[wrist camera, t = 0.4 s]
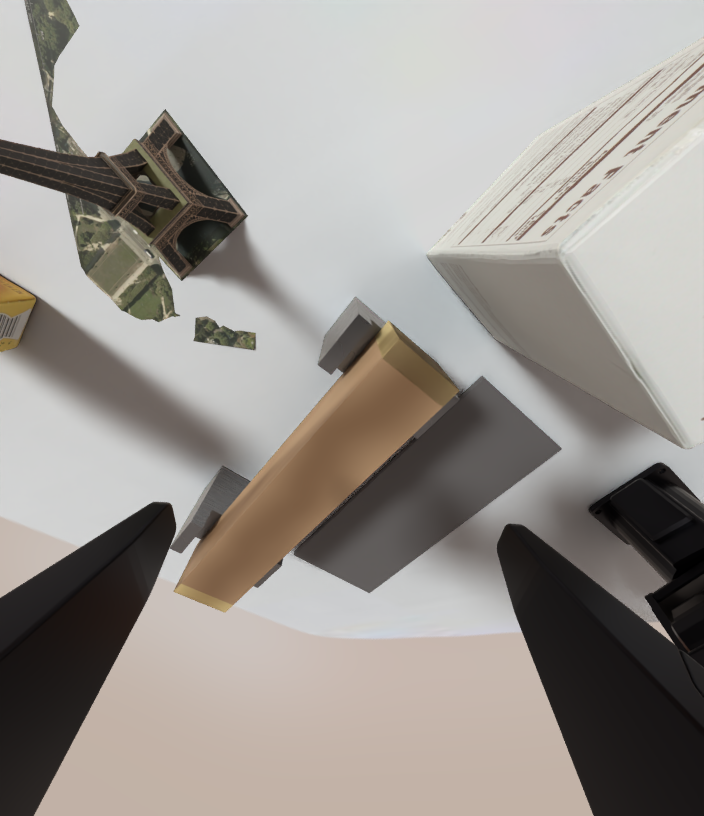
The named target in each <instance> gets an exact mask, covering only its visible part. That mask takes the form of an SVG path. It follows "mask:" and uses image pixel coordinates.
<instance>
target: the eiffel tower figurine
mask: <svg viewBox="0 0 704 816" xmlns="http://www.w3.org/2000/svg"><path fill="white" fill-rule="evenodd" d="M25 5H26V10H27V15H28V19H29V24H30V29H31V33H32V38H33V42H34V47H35V51H36V56H37V60H38V65H39V70H40V74H41V79H42V84H43V88H44V93H45V98H46V102H47V107H48V112H49V117H50V122H51V127H52V132H53V136H54V141H55V146H56V151H57V152H54V151H50V150H45V149H41V148H36V147H32V146H27V145H23V144H18V143H14V142H9V141H5V140H1V139H0V173H1V174H4V175H8V176H11V177H14V178H18V179H21V180H24V181H28V182H31V183H34V184H37V185H40V186H44V187H47V188H50V189H53V190H57V191H60V192H63V193H65V194H66V199H67V203H68V208H69V213H70V217H71V222H72V227H73V231H74V236H75V241H76V245H77V250H78V254H79V259H80V263H81V267H82V268H83V270H84V271H85V274H86V275H87V276H88V277H89V278H90V279H91V280H92V281H93V282H94V283H95V284H96V285H97V286H98V287H99V288H100V289H101V290H102V291H103V292H104V293H105V294H107V295H108V296H109V297H110V298H111V299H112V300H113V301H114V302H115V304H116V305H117V306H118V307H119V308H120V309H121V310H122V311H125V312H127V313H128V314H130V315H132V316H134V317H136V318H138V319H141V320H146V319H153V320H155V321H157V322H160V321H162V320H164V319H167V318H169V317H171V316H174V317H176V316H180V315H178V314H176V313H175V310H174V302H173V295H172V289H171V286H170V284H169V282H168V280H167V278H166V276H165V274H164V272H163V269H162V266H161V263H160V260H159V257H160V258H161V259H162V260H163V261H164V262H165V264H166V265H167V266H168V267H169V268H170V269H171V270H172V271H173V272H174V273H175V274H176V275H177V277H178V278H179V279H180V280H181V281H182V280H183V279H184V278H185V277H186V276H187V275H188V274H189V273H190V272H191V271H192V270H194V269H195V268H196V267H197V266H198V265H199V264H200V263H201V262H202V261H203V260H204V259H205V258H206V257H207V256H208V255H209V254H210V253H211V252H212V251H213V250H214V249H215V248H216V247H217V246H218V245H219V244H220V243H221V242H222V241H223V240H224V239H225V238H226V237H227V236H228V235H229V234H230V233H231V232H232V231H233V230H234V229H235V228H236V227H237V226H238V225H239V224H240V223H241V222H242V221H243V220H244V219H245V218H246V217H247V216H248V215H247V214H246V213H245V211H244V210H243V209H242V208H241V206H240V205H239V204H238V202H237V201H236V200H235V198H234V197H233V196H232V195H231V193H230V192H229V191H228V189H227V188H226V187H225V186H224V184H223V183H222V182H221V180H220V179H219V178H218V177H217V175H216V174H215V173H214V171H213V170H212V169H211V167H210V166H209V165H208V164H207V162H206V161H205V160H204V158H203V157H202V156H201V155H200V153H199V152H198V151H197V149H196V148H195V147H194V146H193V144H192V143H191V142H190V140H189V139H188V138H187V136H186V135H185V134H184V133H183V131H182V130H181V129H180V127H179V126H178V125H177V124H176V122H175V121H174V120H173V118H172V117H171V116H170V115H169V113H168V112H167V111H166V109H165V110H164V111H163V112H162V114H161V115H160V116H159V117H158V119H157V120H156V121H155V122H154V123H153V125H152V126H151V127H150V128H149V130H148V131H147V132H146V133H145V134H144V136H143V137H142V138H141V139H140V141H138V140H136V139H134V140H133V141H132V142H131V143H130V145H129V146H128V147H127V148H126V150H125V151H124V152H123V153H122V154H118V155H114V156H110V157H108V156H107V155H106V154H105V153H104V152H98V153H97V155H96V156H95V157H87V156H86V154H85V153H84V152H83V151H82V150H81V149H80V147H79V146H78V145H77V143H76V142H75V141H74V139H73V138H72V137H71V136H70V135H69V133H68V132H67V131H66V130H65V128H64V127H63V126H62V124H61V122H60V120H59V118H58V117H57V115H56V113H55V111H54V109H53V108H52V96H53V81H54V65H55V63H56V61H57V59H58V57H59V55H60V54H61V52H62V51H63V49H64V48H65V46H66V45H67V43H68V42H69V41H70V39H71V38H72V36H73V35H74V33H75V32H76V30H77V29H78V27H79V24H78V22H77V20H76V18H75V16H74V14H73V12H72V10H71V8H70V6H69V4H68V2H67V1H66V0H25ZM194 341H197V342H204V343H211V344H218V345H225V346H232V347H239V348H246V349H253V350H254V345H255V333H252V332H245V331H235V332H234V331H232V330H231V329H229V328H227V327H225V326H222V327H220V328H219V326H218V325H217V323H216V322H215V321H214V320H212V319H210V318H208V317H207V316H206V317H199V318H196V324H195V338H194Z"/></svg>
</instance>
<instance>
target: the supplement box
mask: <svg viewBox="0 0 704 816" xmlns="http://www.w3.org/2000/svg"><path fill="white" fill-rule="evenodd" d="M426 256H427V257H428V259H429V260H430V261H431V262H432V264H433V265H434V266H435V267H436V269H437V270H438V271H439V273H440V274H441V275H442V276H443V277H444V279H445V280H446V281H447V282H448V284H449V285H450V286H451V287H452V288H453V290H454V291H455V292H456V293H457V294H458V296H459V297H460V298H461V299H462V300H463V301H464V303H465V304H466V305H467V306H468V307H469V309H470V310H471V311H472V312H473V313H474V314H475V316H476V317H477V318H478V319H479V320H480V322H481V323H482V324H483V325H484V326H485V327H486V329H487V330H488V331H489V332H490V333H491V334H492V336H493V337H494V338H495V339H496V340H497V341H500V342H501V343H503V344H505V345H506V346H508V347H510V348H511V349H513V350H515V351H516V352H518V353H520V354H522V355H523V356H525V357H527V358H529V359H530V360H532V361H534V362H535V363H537V364H539V365H541V366H542V367H544V368H546V369H547V370H549V371H551V372H553V373H554V374H556V375H558V376H559V377H561V378H563V379H564V380H566V381H568V382H570V383H571V384H573V385H575V386H577V387H578V388H580V389H582V390H583V391H585V392H587V393H588V394H590V395H592V396H594V397H595V398H597V399H599V400H600V401H602V402H604V403H606V404H607V405H609V406H611V407H612V408H614V409H616V410H617V411H619V412H621V413H623V414H624V415H626V416H628V417H629V418H631V419H633V420H635V421H636V422H638V423H640V424H641V425H643V426H645V427H646V428H648V429H650V430H652V431H653V432H655V433H657V434H659V435H660V436H662V437H664V438H666V439H667V440H669V441H671V442H672V443H674V444H676V445H678V446H679V447H681V448H683V449H691V448H693V447H695V446H697V445H699V444H701V443H703V442H704V37H703V38H701V39H699V40H698V41H696V42H695V43H693V44H691V45H690V46H688V47H686V48H685V49H683V50H682V51H680V52H678V53H677V54H675V55H673V56H672V57H670V58H669V59H667V60H665V61H663V62H662V63H660V64H658V65H656V66H655V67H653V68H651V69H650V70H648V71H646V72H645V73H643V74H641V75H640V76H638V77H636V78H635V79H633V80H631V81H630V82H628V83H626V84H625V85H623V86H621V87H619V88H618V89H616V90H614V91H612V92H611V93H609V94H607V95H606V96H604V97H603V98H601V99H599V100H598V101H596V102H594V103H592V104H591V105H589V106H588V107H586V108H584V109H583V110H581V111H579V112H577V113H576V114H574V115H572V116H571V117H569V118H567V119H565V120H564V121H562V122H560V123H559V124H557V125H555V126H553V127H552V128H550V129H549V130H547V131H545V132H544V133H542V134H540V135H539V136H538V137H536V138H535V139H534V140H533V141H532V143H531V144H530V145H529V146H528V147H527V148H526V149H525V150H524V151H523V152H522V153H521V154H520V155H519V157H518V158H517V159H516V160H515V161H514V162H513V163H512V164H511V165H510V166H509V167H508V168H507V169H506V170H505V171H504V172H503V173H502V175H501V176H500V177H499V178H498V179H497V180H496V181H495V182H494V183H493V184H492V185H491V186H490V187H489V188H488V189H487V190H486V191H485V192H484V193H483V195H482V196H481V197H480V198H479V199H478V200H477V201H476V202H475V203H474V204H473V205H472V206H471V207H470V208H469V209H468V210H467V211H466V212H465V213H464V214H463V215H462V217H461V218H460V219H459V220H458V221H457V222H456V223H455V224H454V225H453V226H452V227H451V228H450V229H449V230H448V231H447V232H446V233H445V234H444V235H443V236H442V238H441V239H440V240H439V241H438V242H437V243H436V244H435V245H434V246H433V247H432V248H431V249H430V250H429V251H428V253H427V255H426Z"/></svg>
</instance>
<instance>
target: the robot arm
mask: <svg viewBox="0 0 704 816" xmlns="http://www.w3.org/2000/svg"><path fill="white" fill-rule="evenodd" d="M589 512H590V513H591V514H592V515H593V516H594V517H595V518H596V519H597V520H599V521H600V522H601V523H602V524H603V525H605V526H606V527H607V528H608V529H609V530H610V531H612V532H613V533H614V534H615V535H616V536H618V537H619V538H620V539H621V540H622V541H624V542H625V543H626V544H631V545H632V546H633V548H634V549H635V550H636V551H637V552H638V553H639V554H640V555H641V556H642V557H643V558H644V559H645V560H646V561H647V562H648V563H649V564H650V565H651V566H652V567H653V568H654V569H655V570H656V571H657V572H658V573H659V575H660V576H661V577H662V578H663V579H664V580H665V581H666V582H667V584H666V585H664V586H663V587H661V588H660V589H658V590H657V591H655V592H654V593H649V594H648V595H646V596H645V599H646V600H647V602H648V603H649V605H650V606H651V608H652V611H653V612H654V614H655V615H656V617H657V618H658V620H659V621H660V623H661V624H662V626H663V627H664V629H665V630H666V632H667V633H668V634H669V636H670V638H671V639H672V641H673V642H674V644H675V645H674V644H673V643H672V642H670V641H669V640H668V639H667V638H666V637H664V636H663V635H662V634H661V633H659V632H658V631H657V630H655V629H654V628H653V627H652V626H650V625H649V624H648V623H647V622H645V621H644V620H643V619H642V618H640V617H639V616H638V615H637V614H635V613H634V612H633V611H631V610H630V609H629V608H628V607H626V606H625V605H624V604H623V603H621V602H620V601H619V600H618V599H616V598H615V597H614V596H612V595H611V594H610V593H609V592H607V591H606V590H605V589H604V588H602V587H601V586H600V585H599V584H597V583H596V582H595V581H593V580H592V579H591V578H590V577H588V576H587V575H586V574H585V573H583V572H582V571H581V570H580V569H578V568H577V567H576V566H574V565H573V564H572V563H571V562H569V561H568V560H567V559H566V558H564V557H563V556H562V555H561V554H559V553H558V552H557V551H555V550H554V549H553V548H552V547H550V546H549V545H548V544H547V543H545V542H544V541H543V540H542V539H540V538H539V537H538V536H536V535H535V534H534V533H533V532H531V531H530V530H529V529H528V528H526V527H525V526H523V525H519V524H508V525H506V526H505V528H504V530H503V532H502V535H501V537H500V539H499V541H498V544H497V553H498V557H499V560H500V564H501V567H502V571H503V574H504V578H505V581H506V585H507V588H508V592H509V595H510V599H511V602H512V605H513V609H514V612H515V614H516V617H517V620H518V622H519V625H520V628H521V630H522V633H523V635H524V638H525V640H526V643H527V645H528V648H529V651H530V653H531V656H532V658H533V661H534V663H535V666H536V669H537V671H538V673H539V676H540V679H541V682H542V684H543V687H544V689H545V692H546V694H547V697H548V700H549V702H550V705H551V707H552V710H553V712H554V714H555V717H556V720H557V723H558V725H559V727H560V730H561V733H562V736H563V738H564V741H565V743H566V746H567V748H568V751H569V754H570V756H571V758H572V761H573V764H574V766H575V769H576V771H577V774H578V777H579V779H580V782H581V784H582V787H583V790H584V792H585V795H586V797H587V800H588V802H589V805H590V808H591V810H592V813H593V815H594V816H704V504H703V503H701V502H700V500H699V499H698V498H697V497H696V496H695V495H694V494H693V493H692V491H691V490H690V489H689V488H688V487H687V486H686V485H685V484H684V483H683V482H682V481H681V480H680V479H679V477H678V476H677V475H676V474H675V473H674V472H673V471H672V470H671V469H670V468H669V467H668V466H667V465H665V464H664V463H657V464H655V465H654V466H652V467H650V468H649V469H647V470H646V471H644V472H643V473H641V474H640V475H638V476H637V477H635V478H634V479H632V480H630V481H629V482H627V483H626V484H624V485H623V486H621V487H620V488H618V489H617V490H615V491H614V492H612V493H611V494H609V495H607V496H606V497H604V498H603V499H601V500H600V501H598V502H597V503H595V504H594V505H592V506H591V507H590V508H589ZM175 532H176V522H175V517H174V512H173V508H172V505H171V504H170V503H167V502H153V503H151V504H149V505H147V506H146V507H144V508H142V509H141V510H139V511H138V512H136V513H134V514H133V515H131V516H130V517H128V518H127V519H125V520H123V521H122V522H120V523H119V524H117V525H115V526H114V527H112V528H111V529H109V530H107V531H106V532H104V533H103V534H101V535H100V536H98V537H96V538H95V539H93V540H92V541H90V542H88V543H87V544H85V545H84V546H82V547H80V548H79V549H77V550H76V551H74V552H73V553H71V554H69V555H68V556H66V557H65V558H63V559H61V560H60V561H58V562H57V563H55V564H53V565H52V566H50V567H49V568H47V569H46V570H44V571H43V572H41V573H39V574H38V575H36V576H34V577H33V578H31V579H30V580H28V581H27V582H25V583H23V584H22V585H20V586H18V587H17V588H15V589H14V590H12V591H11V592H9V593H7V594H6V595H4V596H3V597H1V598H0V816H34V814H35V812H36V810H37V809H38V807H39V805H40V803H41V801H42V799H43V797H44V795H45V793H46V791H47V790H48V788H49V786H50V784H51V782H52V780H53V778H54V776H55V774H56V773H57V771H58V769H59V767H60V765H61V763H62V761H63V759H64V757H65V755H66V754H67V751H68V750H69V748H70V746H71V744H72V742H73V740H74V738H75V736H76V734H77V733H78V731H79V729H80V727H81V725H82V723H83V721H84V719H85V718H86V716H87V714H88V712H89V710H90V708H91V706H92V704H93V702H94V700H95V698H96V696H97V695H98V693H99V691H100V689H101V687H102V685H103V683H104V681H105V680H106V677H107V675H108V674H109V672H110V670H111V668H112V666H113V664H114V662H115V660H116V659H117V657H118V655H119V653H120V651H121V649H122V647H123V645H124V643H125V641H126V640H127V638H128V636H129V633H130V632H131V630H132V628H133V626H134V624H135V622H136V621H137V619H138V617H139V615H140V613H141V611H142V609H143V607H144V605H145V603H146V602H147V600H148V597H149V595H150V593H151V591H152V589H153V586H154V584H155V582H156V579H157V577H158V574H159V572H160V570H161V567H162V565H163V562H164V560H165V557H166V555H167V552H168V550H169V547H170V545H171V543H172V540H173V538H174V535H175Z"/></svg>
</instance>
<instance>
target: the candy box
mask: <svg viewBox="0 0 704 816" xmlns="http://www.w3.org/2000/svg"><path fill="white" fill-rule="evenodd" d="M35 302H36V298H35V297H34V296H33V295H32V294H30V293H28V292H27V291H25V290H23V289H22V288H20V287H19V286H16V285H15V284H13V283H11V282H10V281H8V280H6V279H5V278H3V277H1V276H0V352H2V351H5V350H9V349H13V348H16V347H17V346H18V344H19V342H20V339H21V337H22V334H23V331H24V329H25V326H26V324H27V321H28V318H29V315H30V313H31V311H32V308H33V306H34V304H35Z"/></svg>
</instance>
